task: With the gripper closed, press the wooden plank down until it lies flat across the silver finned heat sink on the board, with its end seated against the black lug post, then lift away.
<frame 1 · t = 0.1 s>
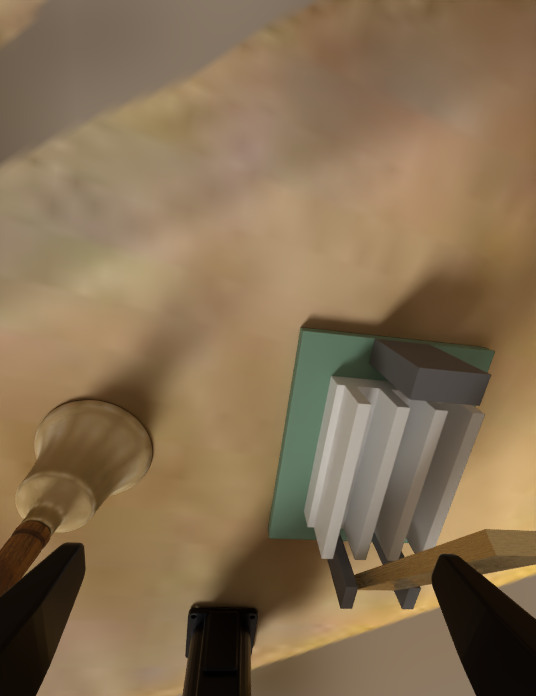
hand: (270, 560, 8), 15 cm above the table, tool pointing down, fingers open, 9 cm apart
hand bell: (97, 446, 23), on the table
heatsink board: (367, 444, 24), on the table
wooden plank: (427, 569, 16), point 9 cm above the table, hinge at 30.0°
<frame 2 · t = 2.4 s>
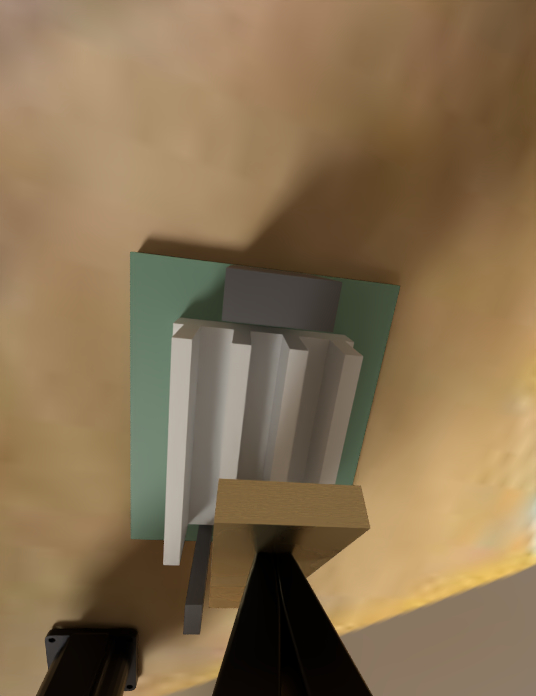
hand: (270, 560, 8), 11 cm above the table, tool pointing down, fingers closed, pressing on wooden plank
heatsink board: (252, 416, 19), on the table
wooden plank: (253, 571, 11), point 9 cm above the table, hinge at 28.0°, touching gripper
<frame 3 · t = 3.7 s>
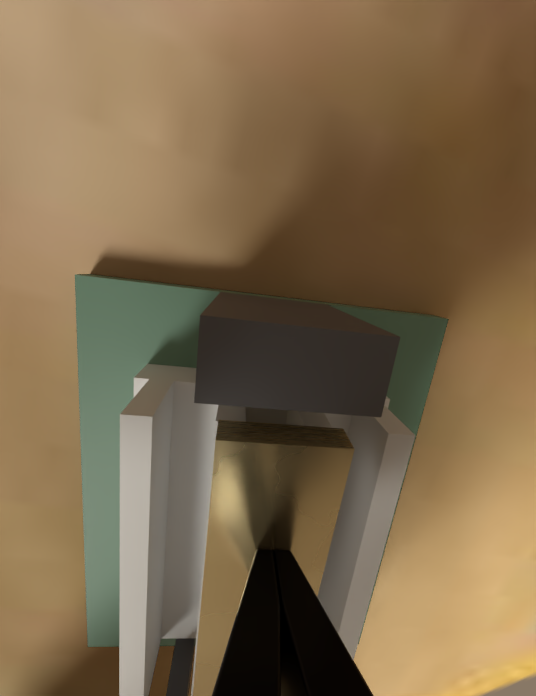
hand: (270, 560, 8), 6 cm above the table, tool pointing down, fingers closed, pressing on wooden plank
heatsink board: (248, 485, 14), on the table
wooden plank: (250, 639, 9), point 6 cm above the table, hinge at 3.0°, touching gripper
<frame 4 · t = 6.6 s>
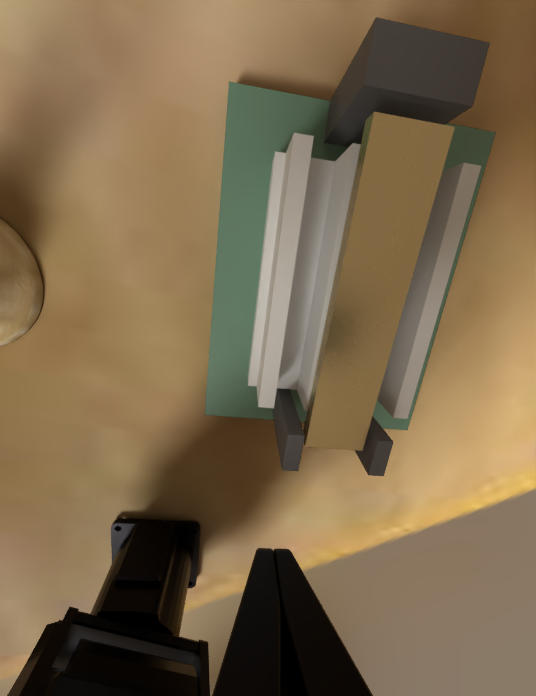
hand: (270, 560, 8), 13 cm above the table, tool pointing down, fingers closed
heatsink board: (330, 286, 19), on the table
wooden plank: (363, 312, 13), point 6 cm above the table, hinge at 2.9°
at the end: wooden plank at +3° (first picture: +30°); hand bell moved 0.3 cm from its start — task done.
